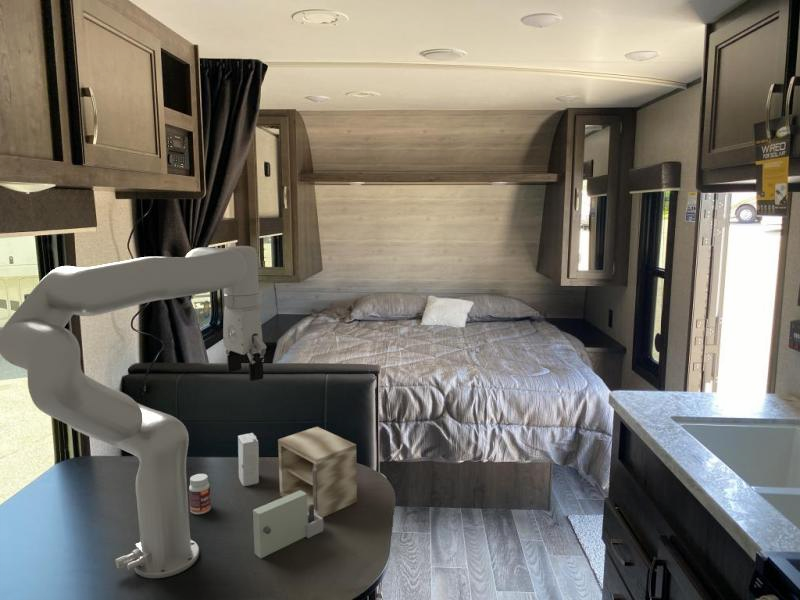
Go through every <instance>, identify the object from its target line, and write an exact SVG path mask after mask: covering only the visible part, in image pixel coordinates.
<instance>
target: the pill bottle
mask: <svg viewBox="0 0 800 600" xmlns="http://www.w3.org/2000/svg"><path fill="white" fill-rule="evenodd" d="M208 476H209V475H207V474H206V473H197V474H194V475H192V476H190V478H189V483H190V484H189V488H188V494H189V497H188V498H189V508H190V509H189V511H190V512H191V514H192V515H203V514H205V513H208V512H210V510H211V508H212V504H211V502H212V501H211V485H210V483H209V477H208Z"/></svg>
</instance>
